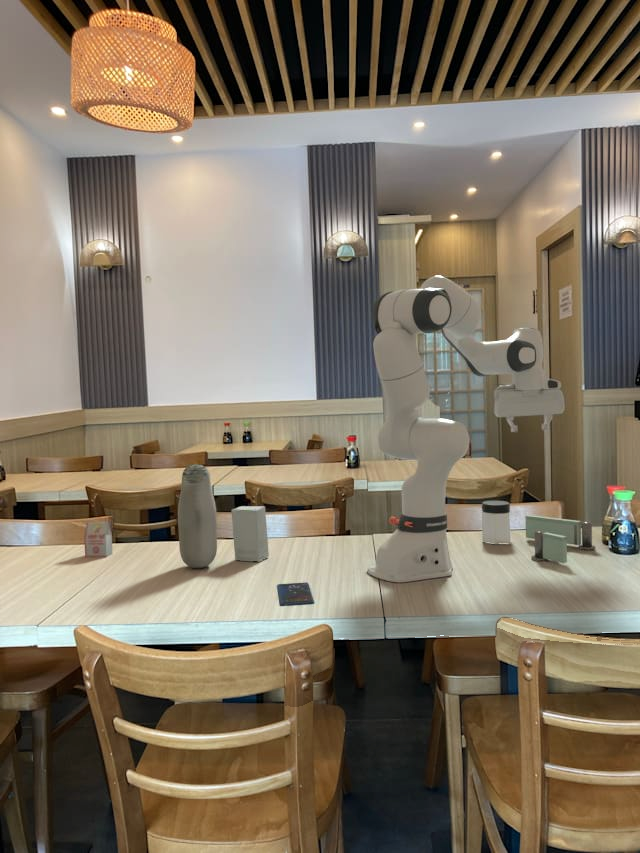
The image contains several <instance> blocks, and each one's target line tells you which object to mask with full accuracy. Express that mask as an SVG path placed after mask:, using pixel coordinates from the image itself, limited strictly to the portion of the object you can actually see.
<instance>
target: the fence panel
mask: <svg viewBox="0 0 640 853" xmlns="http://www.w3.org/2000/svg"><path fill="white" fill-rule="evenodd" d="M542 537H543V558H545V559H549V560H550V561H553V562H557V563H561V564H566V563H568V552H567V551H568V549H567V548H568V545H567V537H566V536H561V535H557V534H552V533H547V532H546V533H542ZM549 560H548V561H549Z"/></svg>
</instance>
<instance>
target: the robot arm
mask: <svg viewBox="0 0 640 853" xmlns="http://www.w3.org/2000/svg"><path fill="white" fill-rule="evenodd" d="M371 314H372V322H373V325H374V326H373V327H374V330H375V332H376V334H377V335H376V336H375V337H374V339H373V343H372V345H373V347H372V348H373V354H374V355H373V356H374V361H375V366H376V370H377V375H378V378H379V380H380V384H381V386H382V390H383V393H384V398H385V401H386V406H387V414H386V415H387V417H386V420H385V422H384V423H383V424H382V425H381V427H380V429H379V431H378V435H377V440H378V446H379V449H380V450H381V452H382V453H383V455H385V456H388V457H391V458H394V459H398V460H401V461H404V460H405V461H417V466H416V467H417V468H416V470H415V472H414V474H413V475H411V476H409V477H407V479H405V480H404V481H403V484H402V485H401V511H402V512H401V514H400V516H399V518H398V517H396V516H390V518H389V520H388V521H389V524H390V525H394V526H396V530H395V531H394V532H393V533H392V534H391V535H389V537H387V539H386V540H385V541H384V542H383V543H382V544H380V546H378V548H377V553H376V559H375V560H376V561H375V564H373V565H369V566H367V570H366V571H367V573H368V574H369V575H371V576H373V577H375V578H377V579H380V580H384V581H387V582H393V583H408V582H415V581H420V580H422V581H423V580H428V579H434V578H435V579H436V578H443V577H448V576H449V577H451V576H452V575H453V574H452V573H453V568H454V567H453V564H452V560H451V556H450V550H449V545H448V544H449V543H448V537H447V529H448V515H447V513H446V487H447V483H448V482H447V481H448V479H449V478H448V477H449V475H450V473H451V471H452V469H453V468H454V466H455V465H456V464H457V462H458V461H460V460H461V459H462V458H464V456H465V455H466V453H467V452H468V450H469V446H470V436H469V435H470V434H469V431H468V429H467V428H466V426H465V425H464V424H463V423H462V422H460V421H455V420H452V419H447V418H423V417H422V415H421V411H420V408H421V407H422V406H424V405H425V403H426V402H427V401H428V399H429V398H430V395H431V394H430V393H431V388H430V386H429V382H428V378H427V375H426V372H425V369H424V368H425V367H424V365H423V362H422V358H421V355H420V353H419V350H418V348H417V337H418V335H421V334H433V333H436V332H439V331H441V333H442V336H443V337H444V339H445V340H446V341H447V343H449V345H450V346H451V347H452V348H453V349H454V350H455V351H456V353H458V354H459V356H461V358H462V359H463V360H464V361H465V363H466V364H467V366H468V369H470V371H471V372H472V374H474V375H475V376H477V377H487V376H493V375H507V374H511V375H512V376H511V377H512V378H511V379H512V384H506V385H499V386H497V387H496V388H495V389H494V391H493V398H494V404H493V405H494V406H493V414H494V415H495V416H496V417H497V418H505V419H506V420H505V421H506V422H507V424H508V425H509V426H510V432H511V433H518V431H519V430H518V428H519V427H518V425H515V423H514V418H515V417H525V416H526V417H527V416H544V418H545V421H544V423H541V425H540V426H541V430H542V431H549V430H550V423H551V421H552V420H553V415H558V414H559V415H560V414H561V415H562V414H563V413H564V411H565V410H566V409H565V406H566V405H565V397H564V393H563V391H562V389H561V388H562V382H561V381H560V380H556V379H552V378H549V377H545V370H544V367H543V363H544V362H543V361H544V358H545V357H544V356H545V355H544V344H543V337H542V334H541V332H540V330H539V329H537V328H535V327H534V328H533V327H519V328H516V329H514V330H513V332H512V335H510V337H508V338H505V339H502V340H496V341H479V340H477V339H475V337H474V336H473V335H472V334H473V333H474V332H475V331H476V330H477V328H478V327H479V325H480V323H481V319H482V307H481V305H480V303H478V301H477V300H476V299H475V297H473V296H472V294H470V293H469V292H468V291H467V290H465V289H464V288H463V287H462V286H460V285H459V284H457V283H456V282H454V281H453V280H451V279H449V278H447V277H445V276H443V275H434V276H431V277H429V278H427V279H426V280H425V281H423V283H422V284H421V286H420V287H419V288H405V289H398V290H394V291H388V292H386V293H383V294H382V295H380V296H378V297H377V299H375V301H374V303H373V306H372V313H371Z"/></svg>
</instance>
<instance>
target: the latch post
mask: <svg viewBox="0 0 640 853" xmlns="http://www.w3.org/2000/svg"><path fill="white" fill-rule="evenodd" d="M542 533H545V532H544V531H535V539H534V554H533V555H531V557H530V558H531V559H530V560H532V561H535V562H543V561H545V562H549V559H545V558H543V537H542ZM543 563H544V562H543Z"/></svg>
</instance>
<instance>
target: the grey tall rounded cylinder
mask: <svg viewBox="0 0 640 853" xmlns="http://www.w3.org/2000/svg"><path fill="white" fill-rule="evenodd" d="M180 486H181V487H180V488H181V489H180V495H179V500H178V505H177V526H178V539H179V540H178V544H179V554H180V557H181V560H182V562H183V563H184V564H185V565H186V566H187V567H189V568H193V569H203V568H206V567H208V566H210V565H211V564H212V563H213V561H214V560H215V558H216V556H217V551H218V537H217V536H218V534H217V533H218V531H217V528H218V526H217V525H218V524H217V521H218V520H217V507H216V501H215V496H214V493H213V489H212V482H211V474H210V472H209V470H208V468H207V467H206V466H204V465H202V464H195V463H194V464H190V465H188V466H187V467H185V469H183V472H182V474H181V485H180Z"/></svg>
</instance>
